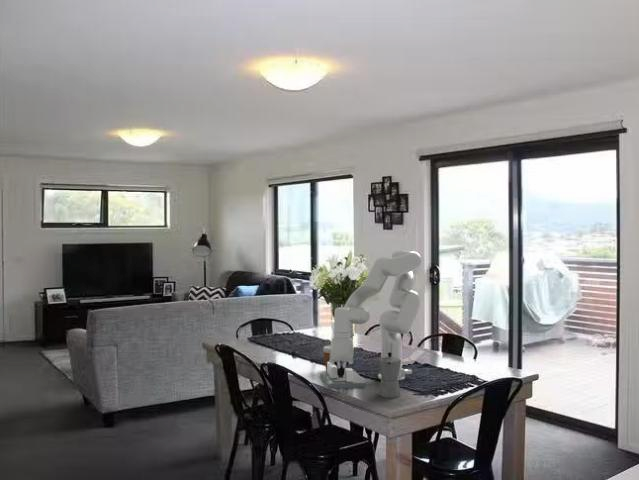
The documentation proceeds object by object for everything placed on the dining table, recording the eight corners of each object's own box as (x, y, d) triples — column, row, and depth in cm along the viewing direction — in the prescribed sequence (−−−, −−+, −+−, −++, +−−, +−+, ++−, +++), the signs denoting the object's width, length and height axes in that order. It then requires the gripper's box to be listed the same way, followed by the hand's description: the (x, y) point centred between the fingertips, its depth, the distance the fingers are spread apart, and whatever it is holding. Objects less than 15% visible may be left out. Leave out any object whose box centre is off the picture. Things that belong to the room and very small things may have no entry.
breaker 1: (333, 372, 286) (333, 361, 286) (335, 374, 282) (335, 363, 282) (327, 372, 286) (327, 361, 286) (328, 374, 282) (328, 363, 281)
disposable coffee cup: (325, 374, 292) (325, 349, 291) (320, 369, 301) (320, 345, 300) (344, 373, 294) (344, 348, 294) (338, 368, 303) (338, 344, 303)
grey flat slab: (355, 375, 290) (355, 370, 290) (365, 387, 268) (365, 382, 268) (320, 376, 287) (320, 372, 287) (327, 388, 266) (327, 384, 266)
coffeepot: (400, 399, 249) (400, 356, 249) (377, 398, 251) (377, 355, 250) (401, 389, 264) (401, 348, 264) (379, 388, 266) (379, 347, 265)
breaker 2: (336, 375, 280) (336, 364, 279) (337, 378, 275) (337, 367, 275) (329, 376, 279) (329, 365, 279) (331, 378, 275) (331, 367, 275)
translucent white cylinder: (425, 351, 318) (390, 357, 303) (425, 362, 318) (390, 369, 303) (417, 349, 323) (382, 355, 308) (417, 360, 323) (382, 366, 308)
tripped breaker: (351, 379, 273) (351, 368, 273) (353, 381, 269) (353, 370, 269) (344, 379, 273) (344, 368, 273) (346, 381, 269) (346, 370, 269)
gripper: (357, 334, 275) (355, 374, 275) (324, 333, 273) (322, 374, 273) (360, 337, 267) (358, 378, 267) (326, 336, 265) (325, 378, 265)
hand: (340, 376), depth 270 cm, fingers closed
